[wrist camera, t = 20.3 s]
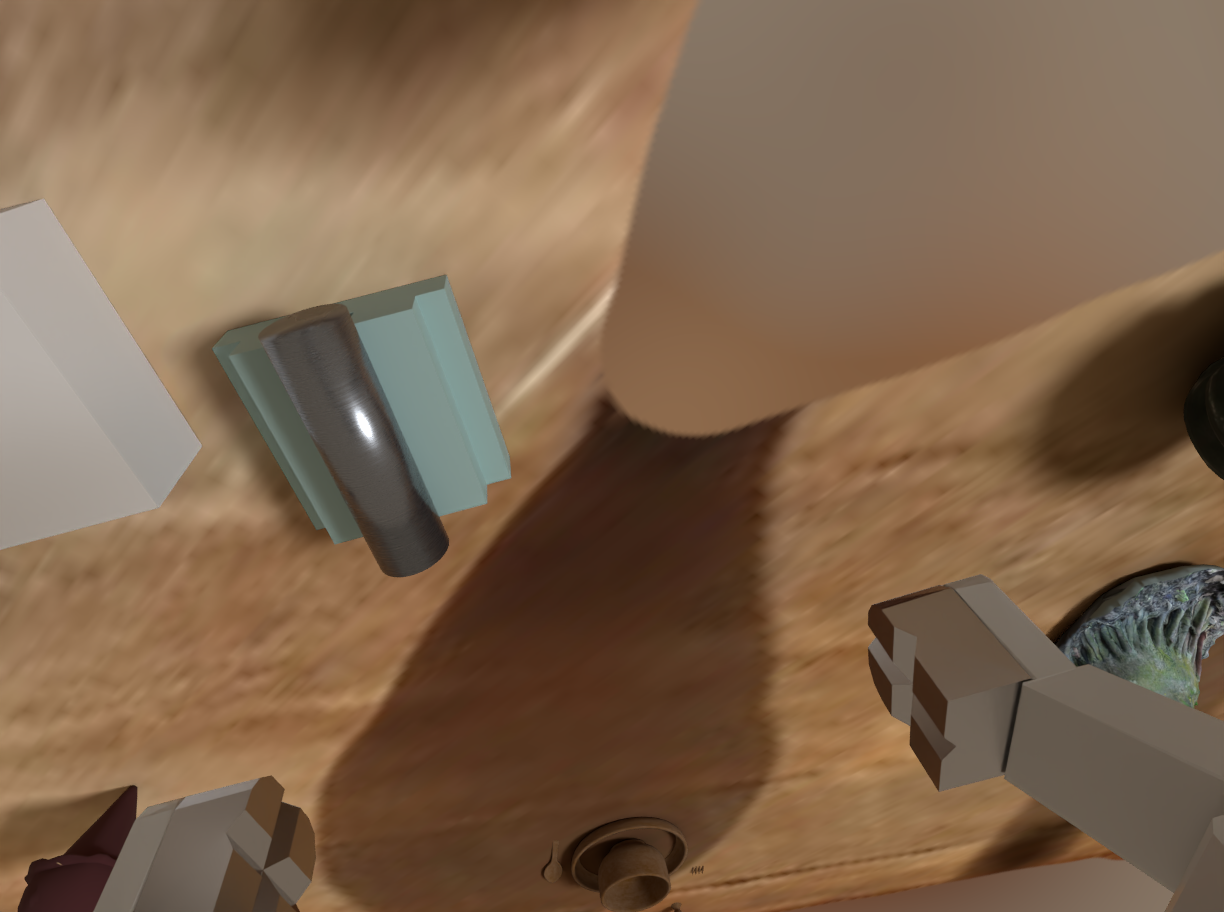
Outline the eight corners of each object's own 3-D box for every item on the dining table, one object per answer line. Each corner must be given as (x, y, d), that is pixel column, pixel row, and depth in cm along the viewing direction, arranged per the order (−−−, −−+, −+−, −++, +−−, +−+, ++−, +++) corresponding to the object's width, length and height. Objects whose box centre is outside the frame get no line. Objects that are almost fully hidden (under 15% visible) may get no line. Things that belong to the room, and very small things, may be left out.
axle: (276, 315, 32) (243, 348, 29) (356, 297, 32) (332, 328, 29) (388, 536, 40) (372, 583, 36) (453, 522, 39) (443, 569, 36)
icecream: (92, 748, 50) (-42, 988, 37) (199, 770, 53) (109, 999, 40) (67, 802, 52) (-67, 1045, 39) (171, 820, 55) (77, 1051, 42)
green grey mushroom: (1270, 614, 64) (1393, 823, 53) (1045, 662, 76) (1109, 842, 65) (1223, 536, 55) (1362, 771, 44) (975, 605, 67) (1035, 804, 56)
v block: (227, 330, 36) (197, 364, 32) (446, 274, 36) (442, 300, 32) (324, 506, 42) (309, 551, 38) (509, 456, 43) (512, 496, 39)
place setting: (720, 801, 68) (739, 860, 63) (689, 904, 78) (703, 962, 73) (547, 818, 64) (552, 883, 59) (537, 924, 75) (542, 987, 70)
